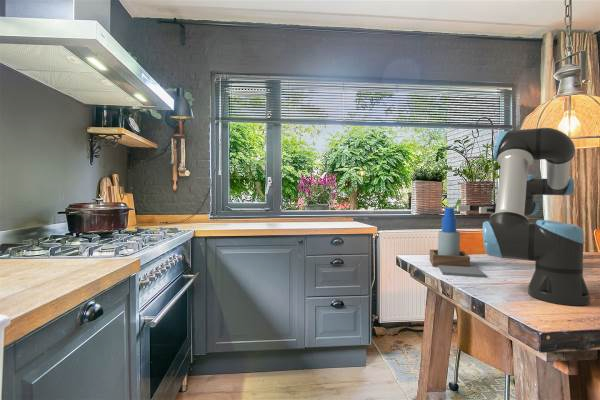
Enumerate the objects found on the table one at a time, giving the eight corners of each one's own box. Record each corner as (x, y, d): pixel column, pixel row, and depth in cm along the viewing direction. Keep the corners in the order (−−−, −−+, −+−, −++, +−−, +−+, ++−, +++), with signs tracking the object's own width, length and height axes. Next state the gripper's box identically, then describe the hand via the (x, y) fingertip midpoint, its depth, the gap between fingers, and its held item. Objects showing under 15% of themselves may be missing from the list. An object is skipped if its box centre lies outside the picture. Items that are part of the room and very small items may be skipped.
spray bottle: (433, 263, 154) (434, 207, 153) (443, 261, 159) (444, 207, 158) (453, 267, 147) (454, 208, 146) (463, 264, 152) (464, 207, 152)
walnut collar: (469, 268, 144) (470, 256, 144) (432, 266, 148) (433, 255, 148) (463, 261, 158) (463, 251, 158) (429, 260, 162) (429, 249, 162)
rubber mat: (485, 277, 130) (485, 274, 130) (442, 274, 134) (442, 272, 134) (477, 269, 143) (477, 267, 143) (438, 267, 147) (438, 265, 147)
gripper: (530, 218, 148) (490, 220, 143) (485, 214, 172) (449, 215, 167) (531, 201, 148) (490, 202, 143) (486, 199, 172) (449, 199, 167)
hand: (468, 209), depth 155 cm, fingers open, 13 cm apart
